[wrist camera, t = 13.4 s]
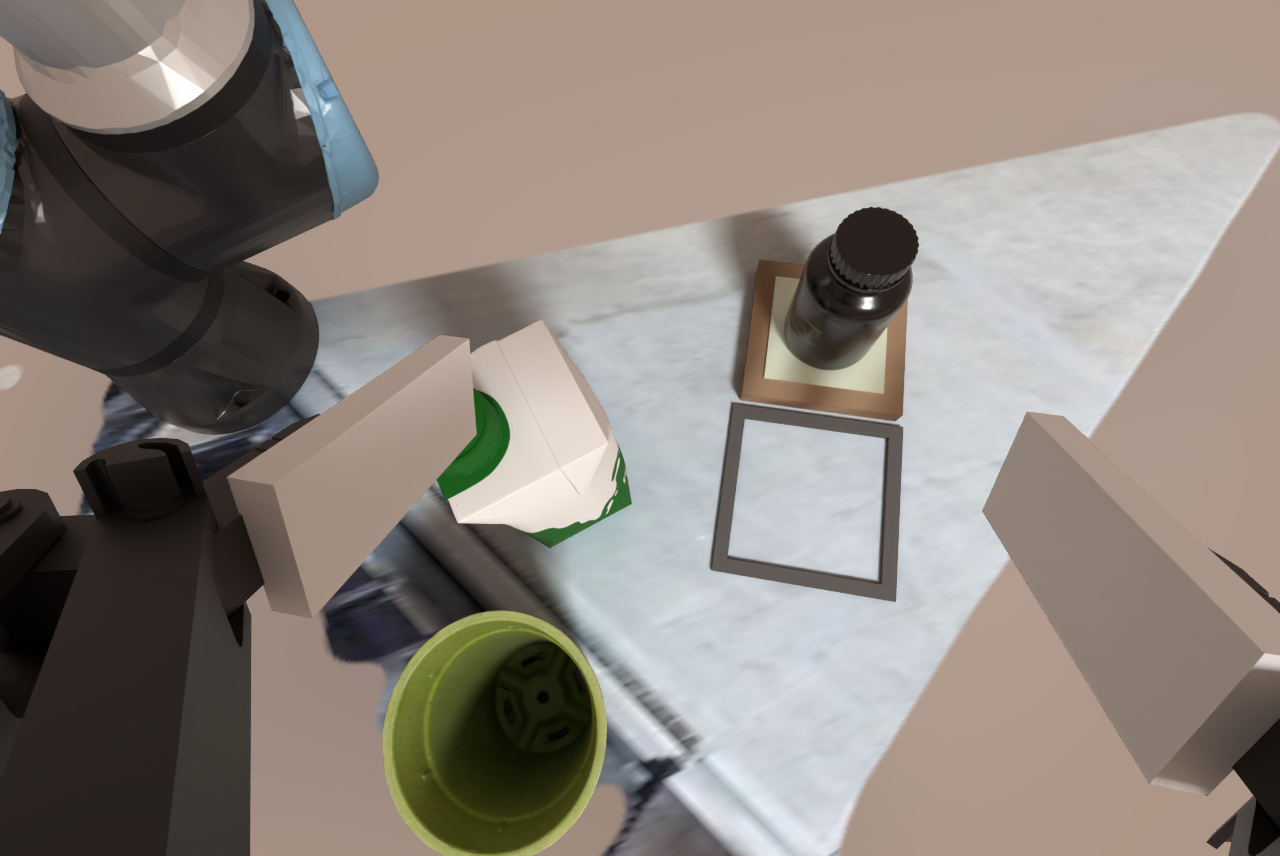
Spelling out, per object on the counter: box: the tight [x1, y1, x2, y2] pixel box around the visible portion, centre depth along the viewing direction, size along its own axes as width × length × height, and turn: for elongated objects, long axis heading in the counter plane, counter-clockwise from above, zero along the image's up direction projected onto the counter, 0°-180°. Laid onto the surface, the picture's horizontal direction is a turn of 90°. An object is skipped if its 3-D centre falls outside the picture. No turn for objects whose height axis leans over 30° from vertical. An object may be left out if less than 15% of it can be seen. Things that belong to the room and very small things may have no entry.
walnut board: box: [740, 260, 908, 421], centre depth 45 cm, size 12×12×2 cm
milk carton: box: [437, 319, 632, 548], centre depth 34 cm, size 9×9×20 cm
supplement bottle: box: [784, 207, 919, 371], centre depth 39 cm, size 7×7×12 cm
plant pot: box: [382, 610, 607, 856], centre depth 34 cm, size 12×12×11 cm
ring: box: [712, 404, 903, 602], centre depth 42 cm, size 13×13×1 cm
